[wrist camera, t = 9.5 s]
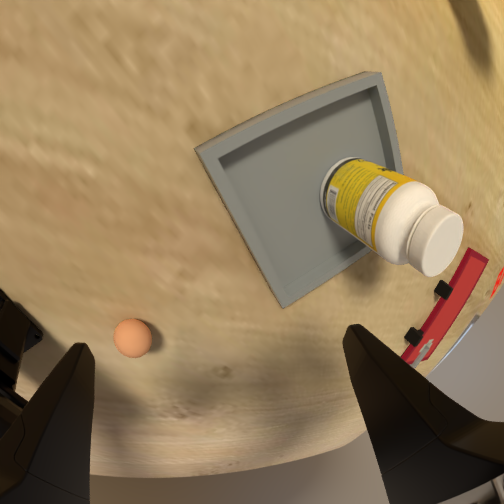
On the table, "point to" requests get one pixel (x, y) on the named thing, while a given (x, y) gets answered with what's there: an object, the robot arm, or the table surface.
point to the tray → (300, 178)
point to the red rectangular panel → (445, 308)
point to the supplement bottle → (391, 215)
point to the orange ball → (132, 338)
